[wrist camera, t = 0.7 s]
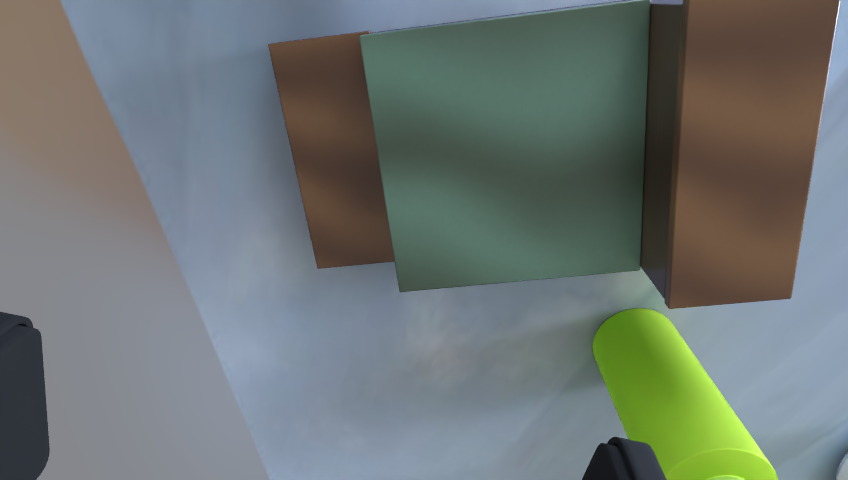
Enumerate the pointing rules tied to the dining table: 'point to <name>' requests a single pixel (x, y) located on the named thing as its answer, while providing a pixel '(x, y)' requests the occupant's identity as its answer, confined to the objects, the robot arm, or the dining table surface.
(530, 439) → the dining table surface
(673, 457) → the soap dispenser
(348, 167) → the step shelf
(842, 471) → the flower in vase
